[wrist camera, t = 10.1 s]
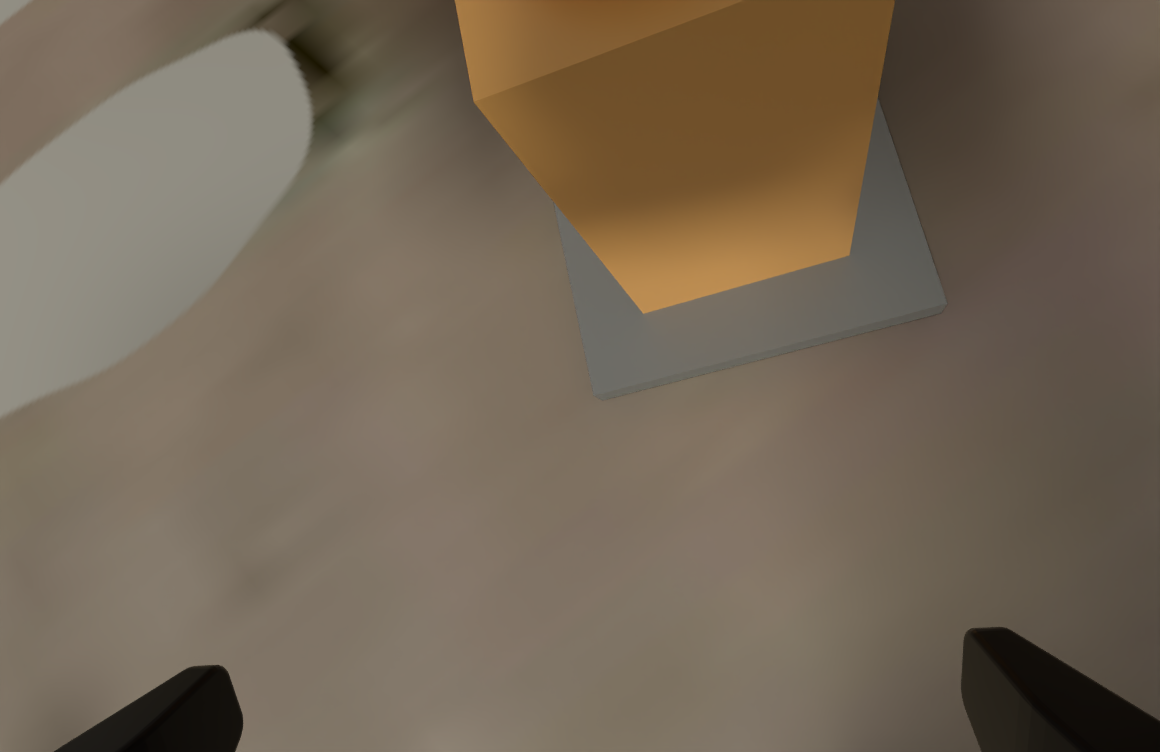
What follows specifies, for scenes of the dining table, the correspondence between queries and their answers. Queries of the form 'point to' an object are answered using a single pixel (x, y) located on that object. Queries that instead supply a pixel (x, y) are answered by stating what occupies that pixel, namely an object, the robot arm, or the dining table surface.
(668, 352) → the plate
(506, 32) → the domed orange pillar
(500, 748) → the dining table surface
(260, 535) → the dining table surface
